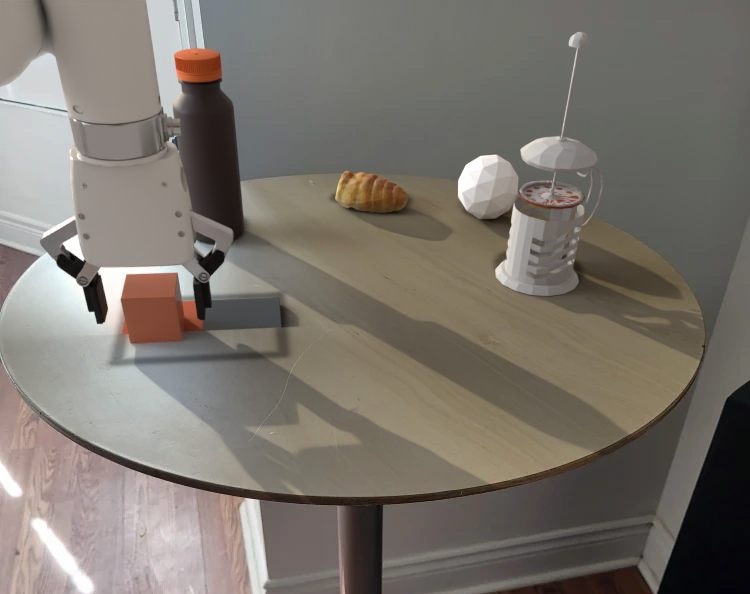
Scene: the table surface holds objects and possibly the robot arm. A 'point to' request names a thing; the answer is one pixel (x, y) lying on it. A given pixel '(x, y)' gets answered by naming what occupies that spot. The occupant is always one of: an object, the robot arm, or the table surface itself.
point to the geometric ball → (488, 187)
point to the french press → (531, 258)
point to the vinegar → (208, 140)
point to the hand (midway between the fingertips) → (152, 315)
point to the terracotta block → (153, 307)
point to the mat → (232, 315)
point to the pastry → (369, 193)
